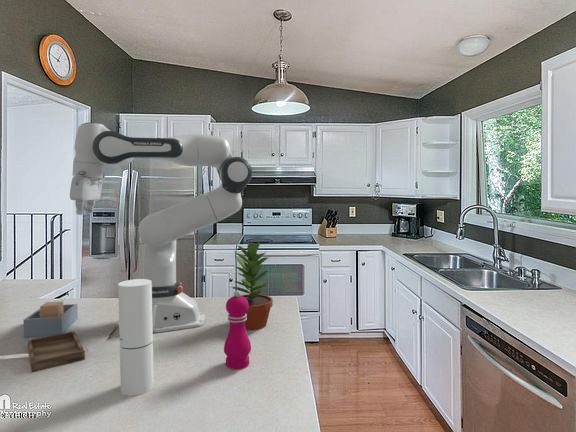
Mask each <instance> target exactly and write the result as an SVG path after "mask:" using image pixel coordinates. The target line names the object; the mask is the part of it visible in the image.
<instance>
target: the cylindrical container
mask: <svg viewBox="0 0 576 432" xmlns="http://www.w3.org/2000/svg"><path fill="white" fill-rule="evenodd" d="M117 287H118V288H117V289H118V295H117V296H118V325H119V327H118V329H119V330H118V331H119V332H118V333H119V364H120V366H119V368H120V393H121V394H122V395H124V396H130V397H133V396H140V395H143V394H146V393H148V392H150V391H151V390H152V389H153V388H154V385H155V382H154V378H155V377H154V341H153V339H154V336H153V333H154V332H153V326H152V281H151V280H147V279H143V278H134V279H128V280H124V281H121V282H118V283H117Z"/></svg>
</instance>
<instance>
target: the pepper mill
mask: <svg viewBox="0 0 576 432" xmlns="http://www.w3.org/2000/svg"><path fill="white" fill-rule="evenodd" d="M240 295H242V294H241V291H239V290H235V291H234V292H233V296H231V297H230V298H228V299H227V301H226V304H225V310H226V312H227V313H228V315H227V320H228V322H229V330H228V332H227V333H228V334H227V336H226V339H225V341H224V343H223V344H224V345H223V353H224V354H225V356H226V357H225V367H227V368H228V369H231V370H243V369H245V368H247V367H248V366H249V365H250V356H249V354H250V353H251V351H252V344H251V339H250V338H249V335H248V332H247V330H246V329H245V321H246V320H247V317H246V316H247V314H246V312H247V311H248V308H249V304H248V301H247V299H246V298H244V297H242V296H240Z"/></svg>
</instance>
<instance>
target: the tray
mask: <svg viewBox="0 0 576 432" xmlns="http://www.w3.org/2000/svg"><path fill="white" fill-rule="evenodd" d="M27 347H28V356H29V357H28V359H29V364H30V371H31V373H34V372H35V373H36V372H39V371H43V370H47V369H52V368H56V367H61V366H63V365H70V364H72V363H77V362H80V361H81V362H82V361H84V360H85V359H86V356H85V355H86V354H85V352H86V351H85V349H84V346H83V344H82V343H81V341H80V339H79V336H78V334H77V333H76V331H75V330H74V331H69V332H68V331H67V332H64V333H63V334H58V335H50V336H41V337H36V338H33V339H28V340H27Z"/></svg>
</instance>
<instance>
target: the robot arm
mask: <svg viewBox="0 0 576 432" xmlns="http://www.w3.org/2000/svg"><path fill="white" fill-rule="evenodd" d="M74 139H75V140H74V151H75V152H74V153H75V155H74V158H73V164H72V174H71V175H72V178H71V182H70V190H69V199H70V201H74V204H75V209H76V210H75V211H76V212H75V213H76V215H78V216H82V215H84V213H86V214H93V211H94V207H95V203H96V201H97V200H98V201H99V200H100V199H101V197H102V196H101V195H102V192H103V191H102V190H103V184H104V181H103V180H105V179H106V173H105V172H104V165H105V164H108V165H113V166H118V167H123V166H127V165H129V164H131V163H132V162H133V161H134V159H137V158H138V159H154V158H155V159H162V160H167V161H170V162H172V163H174V164H177V165H179V166H184V167H185V166H186V167H211V168H212V167H213V168H215V169H216V171H217V174H218V177H219V179H220V181H221V182H220V185H219V186H218V187H217V188H215V189H213V190H210V191H208V192H205V193H202V194H200V195H197V196H195V197H192V198H189V199H187V200H185V201H181V202H179V203H177V204H174V205H171V206H168V207H166V208H164V209H161V210H158V211H156V212H152V213H150V214H148V215H147V216H146V215H145V217H143V218H142V220H140V223H139V226H138V235H139V238H140V240H141V241H143V242H144V243H143V253H142V254H143V255H142V262H141V263H142V279H147V280H151V281H152V326H153V333H162V332H163V333H164V332H171V331H177V330H178V331H179V330H185V329H190V328H191V329H192V328H198V327H201V326H202V325H204V324H205V321H206V315H205V314H204V313H203V312H202V311H200V309H199V305H198V303H197V301H196V300H195V299H193V298H192V297H190V296H189V295H187V294H186V293H185V292H183V290H184V287H183V283H182V282H178V281H177V240H178V239H181V238H183V237H186V236H187V235H190V234H193V232H196V231H199V230H201V229H204V228H206V227H208V226H211V225H214V224H216V223H218V222H221V221H223V220H225V219H226V218H229V217H231V216H233V215H234V214H236V213H237V212H239V211H240V210H241V208H242V206H243V199H242V195H241V193H242V192H243V190H244V189H245V188H246V187H247V185H249V183H250V182H251V180H252V178H253V168H252V165H251V163H250V162H249V161H248V160H247V159H245V158H244V157H241V156H234V155H232V151H231V149H232V148H231V146H230V143H229V141H228V139H226V138H225V137H222V136H218V135H210V134H183V135H176V136H170V137H133V136H132V137H131V136H126V135H124V134H122V133H119V132H118V131H113V130H110V129H109V128H107V126H105V125H104V124H102V123H98V122H84V123H81V124H80V125H79V126H78V127H77V131H76V133H75V138H74ZM85 201H86V202H87V203H86V204H87V205H86V208H85V209H84V204H85Z"/></svg>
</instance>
